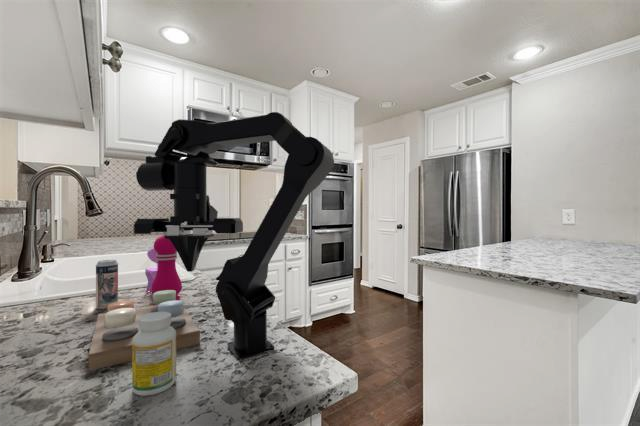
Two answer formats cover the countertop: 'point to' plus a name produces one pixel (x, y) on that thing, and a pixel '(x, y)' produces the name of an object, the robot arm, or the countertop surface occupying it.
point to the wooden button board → (117, 341)
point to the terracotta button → (120, 305)
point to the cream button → (120, 317)
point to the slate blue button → (172, 307)
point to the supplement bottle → (154, 354)
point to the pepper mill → (166, 267)
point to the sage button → (164, 296)
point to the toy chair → (151, 271)
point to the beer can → (106, 283)
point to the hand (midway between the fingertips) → (190, 271)
